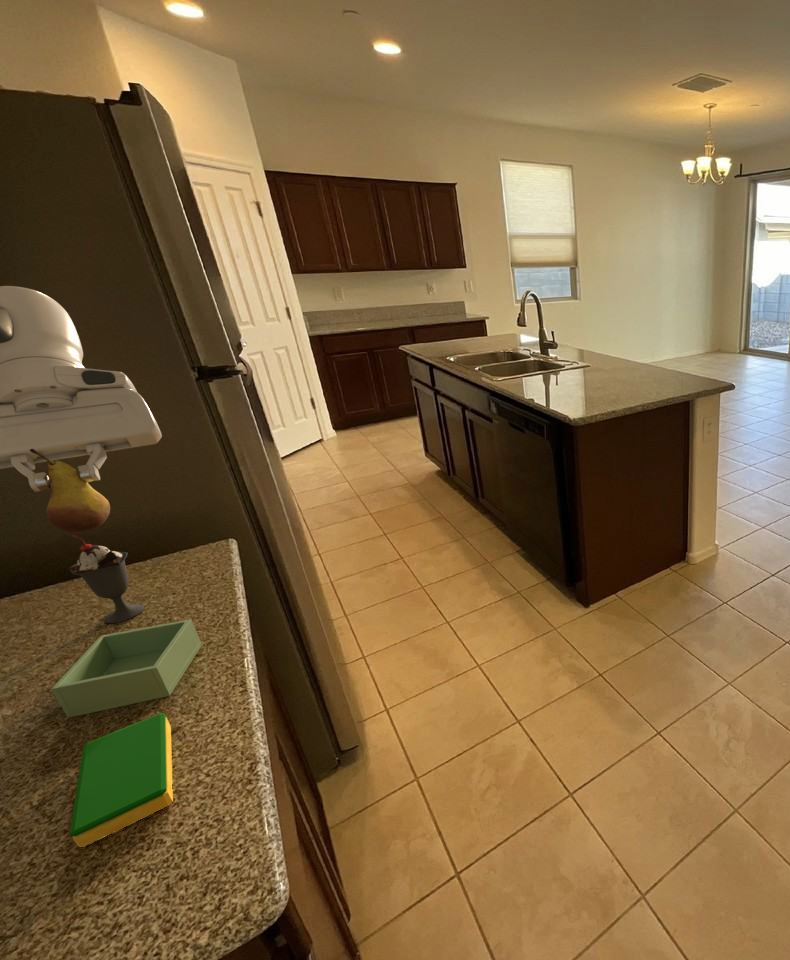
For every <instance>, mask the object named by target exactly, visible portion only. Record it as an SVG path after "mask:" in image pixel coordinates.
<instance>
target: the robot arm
mask: <svg viewBox="0 0 790 960" xmlns="http://www.w3.org/2000/svg"><path fill="white" fill-rule="evenodd" d="M83 358H84V350H83V346H82V343H81V339H80V337H79V333H78V332H77V328H76V326H75V325H74V322H73V320H72V318H71V317H70V314H69V312H67V311H66V309H65V308H64V307H63V306H62V305H61V304H60V303H59V302H58V301H56V300H55V299H53V298H52V297H50V296H48V295H47V294H44V293H42V292H40V291H38V290H35V289H32V288H28V287H22V286H17V285H1V286H0V470H2V469H3V470H4V469H8V468H15V469H16V470H17V471H18V472H19V473H20V474H21V475H23V476H24V477H26V478H27V480H28V485H29V486H30V488H31V489H32V490H33V492H35V493H38V492H42V491H48V490H51V484H50V479H49V475H48V474H47V473H46V472H45V471H42V472H34V471H35V469H36V465H35V464H39V463H46V462H48V461H47V460H45V459H44V458H42V457H40V456H39V455H37V454H34V453H32V452H31V451H30V449H34V450H36V451H37V452H39V453H40V454H42V455H43V456H44V457H46V458H48V459H49V460H51V461H53V462H54V461H60V460H65V459H70V458H77V457H84V456H89V458H88V460H87V462H86V463H85V464H82V465H77V470H78V473H79V475H80V477H81V479H82V480H84V482H87V483H93V482H97V481H101V475H100V472H99V470H100V469H101V467H102V466H103V465H104V463H105V461H106V460H107V459H108V456H107V453H108V452H113V451H120V450H127V449H133V448H140V447H144V446H151V445H156V444H158V443H159V442H160V440H161V439H162V437H163V435H162V431H161V428H160V427H159V425H158V422H157V420H156V418H155V417H154V414H153V412H152V411H151V410H150V408H149V406H148V404H147V402H146V401H145V399H144V397H143V396H142V395H141V394H140V393H139V392H138V391H137V388H136V387H135V385H134V384H133V382H132V380H130V378H129V376H127V375H126V374H125V373H124V372H122V371H116V370H103V369H97V368H96V369H94V368H86V367H85V366H84V365H83Z"/></svg>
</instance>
